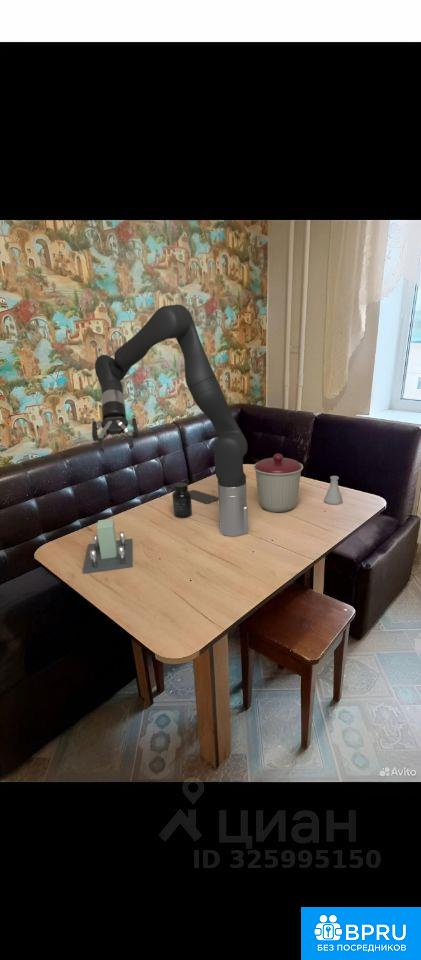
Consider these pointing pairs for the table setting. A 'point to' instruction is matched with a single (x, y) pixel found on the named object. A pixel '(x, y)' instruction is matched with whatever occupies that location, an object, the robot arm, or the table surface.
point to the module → (107, 538)
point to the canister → (278, 482)
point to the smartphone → (202, 497)
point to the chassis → (121, 561)
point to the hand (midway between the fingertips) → (116, 449)
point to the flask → (333, 492)
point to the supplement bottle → (182, 501)
